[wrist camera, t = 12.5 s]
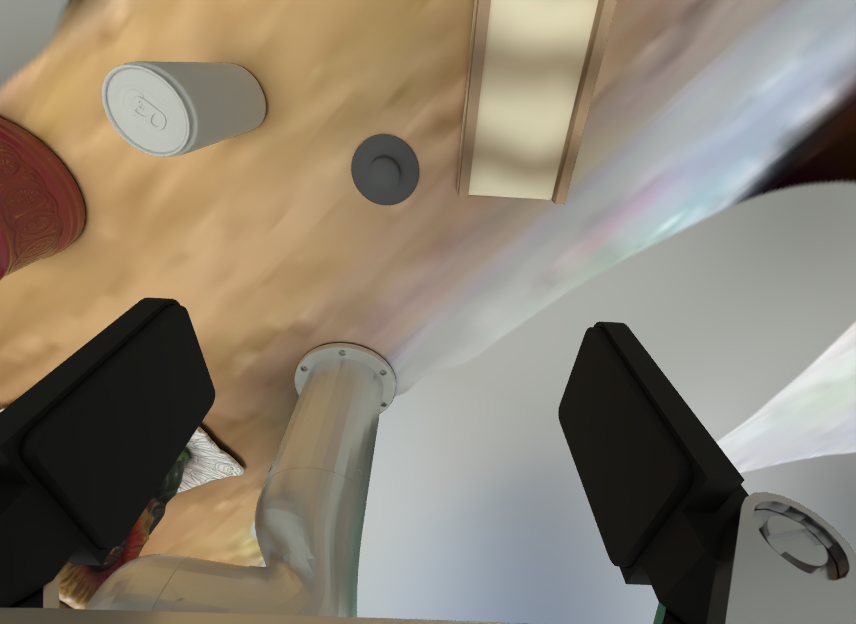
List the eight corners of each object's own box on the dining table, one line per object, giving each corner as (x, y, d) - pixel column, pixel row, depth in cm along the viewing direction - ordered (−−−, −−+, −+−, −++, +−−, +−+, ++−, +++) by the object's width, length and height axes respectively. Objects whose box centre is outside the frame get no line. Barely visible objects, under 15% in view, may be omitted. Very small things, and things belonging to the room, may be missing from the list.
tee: (417, 205, 36) (416, 216, 33) (353, 201, 35) (347, 212, 33) (420, 136, 32) (419, 142, 30) (350, 132, 32) (343, 137, 30)
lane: (553, 192, 35) (564, 204, 32) (456, 186, 35) (458, 197, 32) (617, -81, 25) (643, -101, 22) (483, -92, 25) (490, -114, 22)
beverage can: (225, 47, 29) (116, 37, 19) (280, 96, 31) (206, 111, 21) (198, 99, 31) (85, 115, 21) (251, 143, 33) (170, 176, 23)
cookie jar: (132, 500, 63) (-87, 817, 37) (-8, 405, 51) (-495, 778, 24) (253, 466, 58) (100, 809, 31) (128, 351, 46) (-301, 753, 19)
